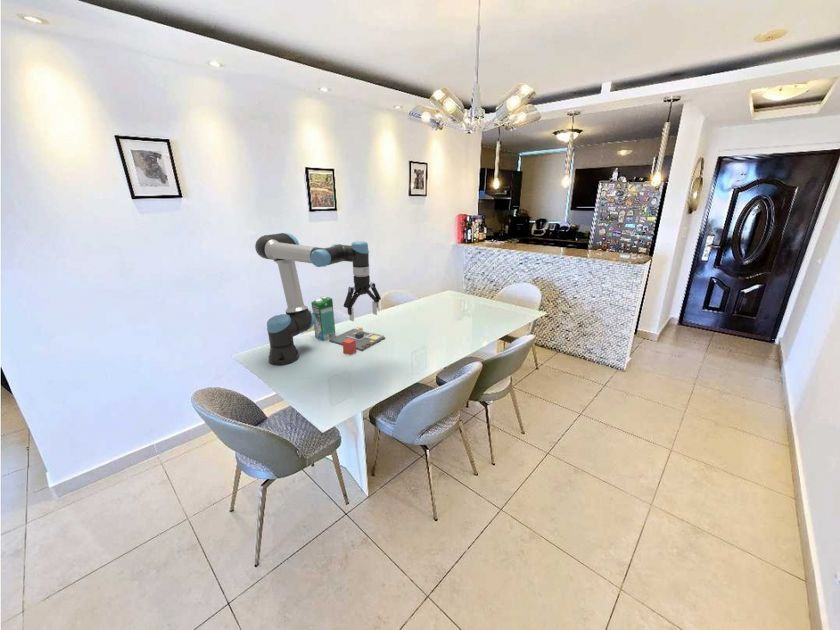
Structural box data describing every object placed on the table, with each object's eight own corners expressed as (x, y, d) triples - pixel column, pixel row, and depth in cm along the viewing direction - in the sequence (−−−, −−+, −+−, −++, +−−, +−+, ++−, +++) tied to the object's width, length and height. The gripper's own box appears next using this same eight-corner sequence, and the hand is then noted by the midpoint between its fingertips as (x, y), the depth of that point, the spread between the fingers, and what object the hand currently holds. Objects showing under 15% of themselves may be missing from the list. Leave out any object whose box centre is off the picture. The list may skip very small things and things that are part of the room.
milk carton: (315, 337, 210) (310, 298, 202) (327, 333, 217) (324, 295, 208) (323, 341, 204) (318, 301, 196) (335, 336, 211) (332, 298, 203)
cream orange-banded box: (355, 333, 211) (354, 328, 210) (359, 331, 215) (359, 326, 213) (358, 334, 210) (358, 329, 209) (362, 332, 213) (362, 327, 212)
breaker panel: (329, 341, 204) (328, 334, 203) (353, 330, 221) (352, 323, 219) (361, 351, 191) (361, 343, 189) (385, 338, 208) (384, 331, 206)
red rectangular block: (343, 352, 189) (342, 341, 187) (349, 349, 193) (348, 338, 191) (350, 354, 187) (349, 343, 184) (356, 351, 191) (355, 340, 188)
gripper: (342, 280, 149) (345, 325, 156) (387, 272, 166) (388, 313, 173) (333, 277, 155) (337, 321, 162) (377, 270, 171) (379, 310, 178)
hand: (363, 317), depth 167 cm, fingers open, 13 cm apart
